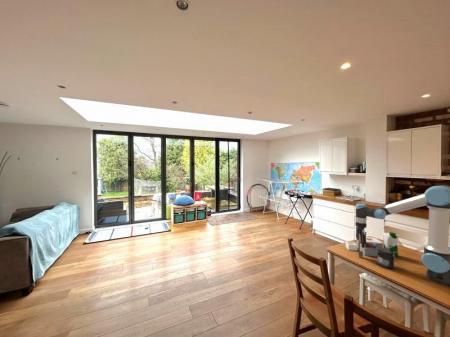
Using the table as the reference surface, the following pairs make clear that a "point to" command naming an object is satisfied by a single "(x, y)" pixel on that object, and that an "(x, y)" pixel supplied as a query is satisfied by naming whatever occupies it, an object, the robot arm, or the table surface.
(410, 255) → the table surface
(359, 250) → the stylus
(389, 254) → the supplement container
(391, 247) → the milk carton
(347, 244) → the holder
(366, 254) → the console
